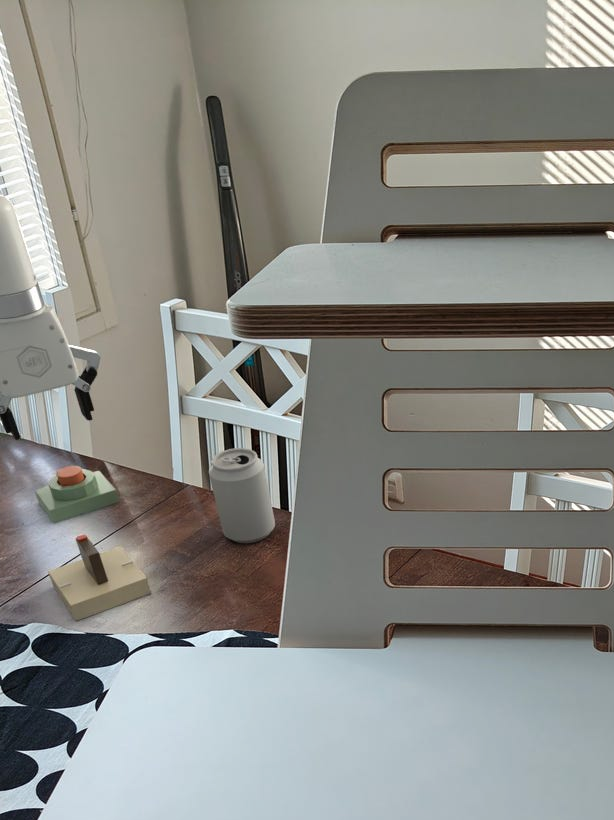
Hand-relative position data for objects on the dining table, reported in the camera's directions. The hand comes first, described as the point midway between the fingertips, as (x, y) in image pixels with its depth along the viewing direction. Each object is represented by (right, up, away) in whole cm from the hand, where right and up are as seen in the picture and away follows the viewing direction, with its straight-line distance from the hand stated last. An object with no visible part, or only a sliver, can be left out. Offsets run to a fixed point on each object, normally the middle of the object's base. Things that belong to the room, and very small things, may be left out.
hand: (52, 426), depth 134 cm
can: (+26, -14, +7) cm, 30 cm away
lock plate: (+8, -23, -4) cm, 24 cm away
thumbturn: (+8, -21, -5) cm, 23 cm away
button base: (-3, -8, +15) cm, 18 cm away
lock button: (-3, -5, +13) cm, 15 cm away
